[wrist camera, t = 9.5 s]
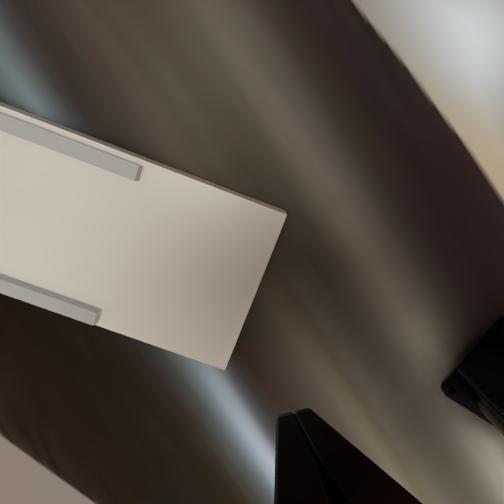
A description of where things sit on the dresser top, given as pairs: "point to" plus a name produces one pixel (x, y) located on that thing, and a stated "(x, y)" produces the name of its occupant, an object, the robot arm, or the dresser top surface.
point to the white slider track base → (127, 239)
